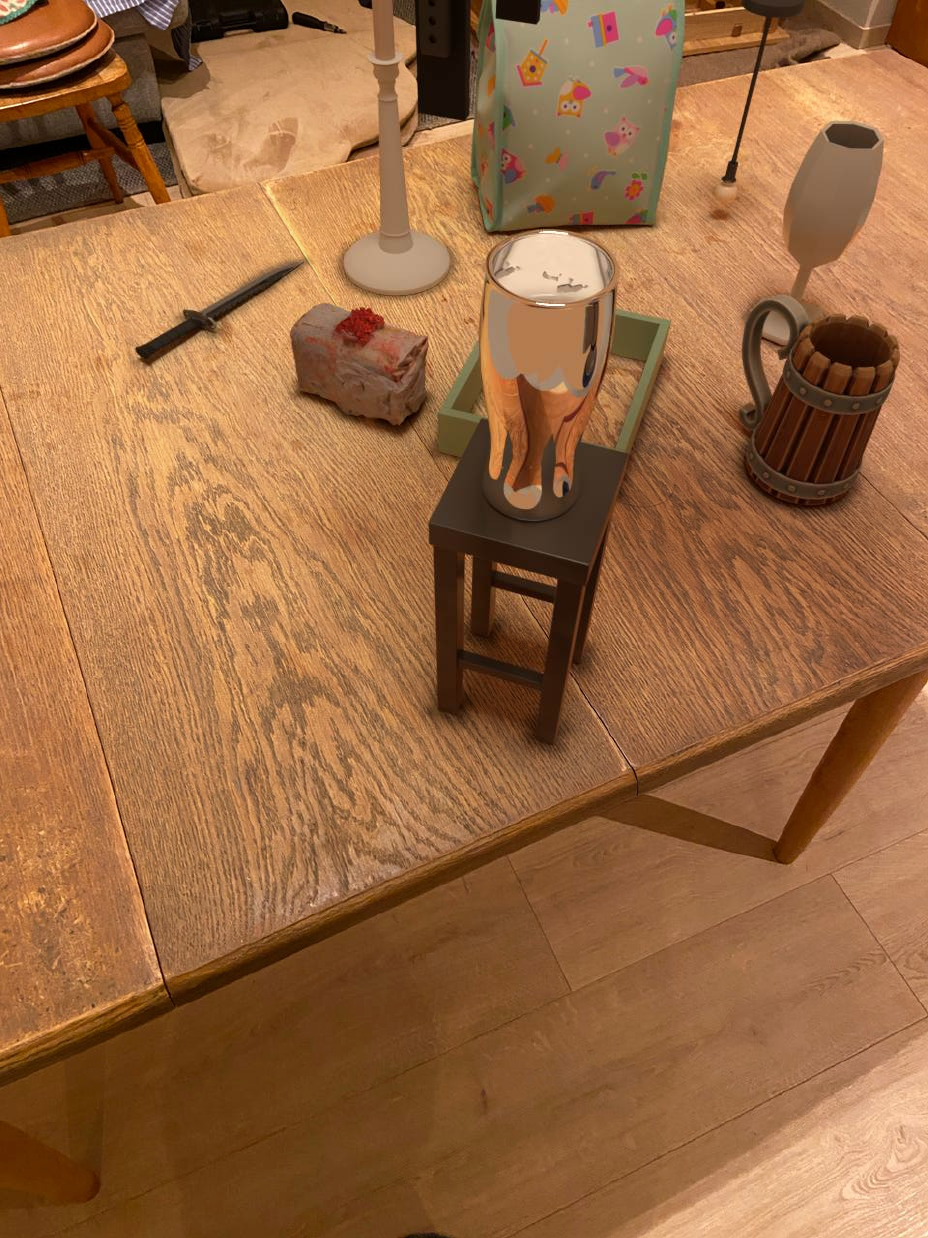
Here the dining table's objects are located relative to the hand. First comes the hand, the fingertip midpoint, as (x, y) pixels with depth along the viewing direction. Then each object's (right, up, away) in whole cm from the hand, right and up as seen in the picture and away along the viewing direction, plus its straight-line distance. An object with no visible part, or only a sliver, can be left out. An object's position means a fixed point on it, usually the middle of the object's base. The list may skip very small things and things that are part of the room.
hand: (483, 64), depth 53 cm
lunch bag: (+12, +21, +64) cm, 69 cm away
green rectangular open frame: (+8, -10, +41) cm, 43 cm away
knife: (-28, +3, +50) cm, 58 cm away
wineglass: (+36, +1, +49) cm, 61 cm away
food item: (-11, -10, +41) cm, 44 cm away
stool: (+3, -38, +20) cm, 43 cm away
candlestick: (-9, +10, +56) cm, 57 cm away
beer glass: (+3, -25, +3) cm, 25 cm away
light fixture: (+32, +19, +63) cm, 73 cm away
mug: (+30, -17, +36) cm, 50 cm away
